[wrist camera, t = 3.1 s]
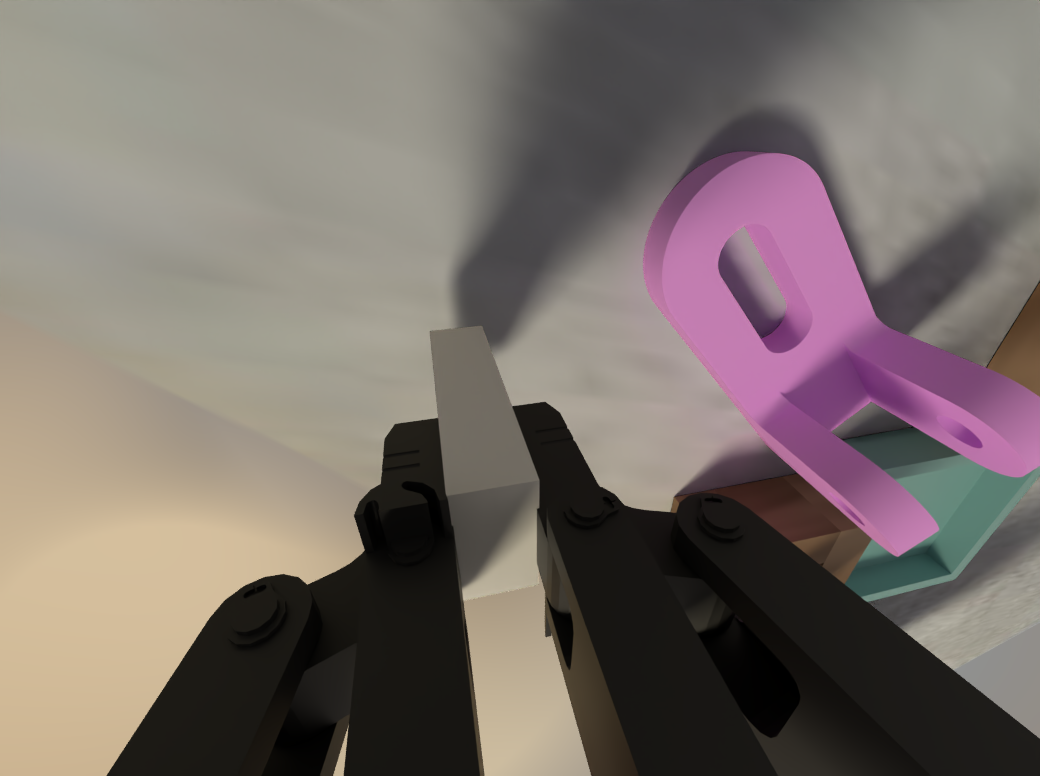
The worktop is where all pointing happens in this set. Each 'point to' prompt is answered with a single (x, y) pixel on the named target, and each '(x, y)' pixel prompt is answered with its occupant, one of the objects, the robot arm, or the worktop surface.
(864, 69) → the worktop surface
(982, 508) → the tray
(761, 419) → the bracket
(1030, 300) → the block
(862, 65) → the worktop surface
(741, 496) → the socket block
